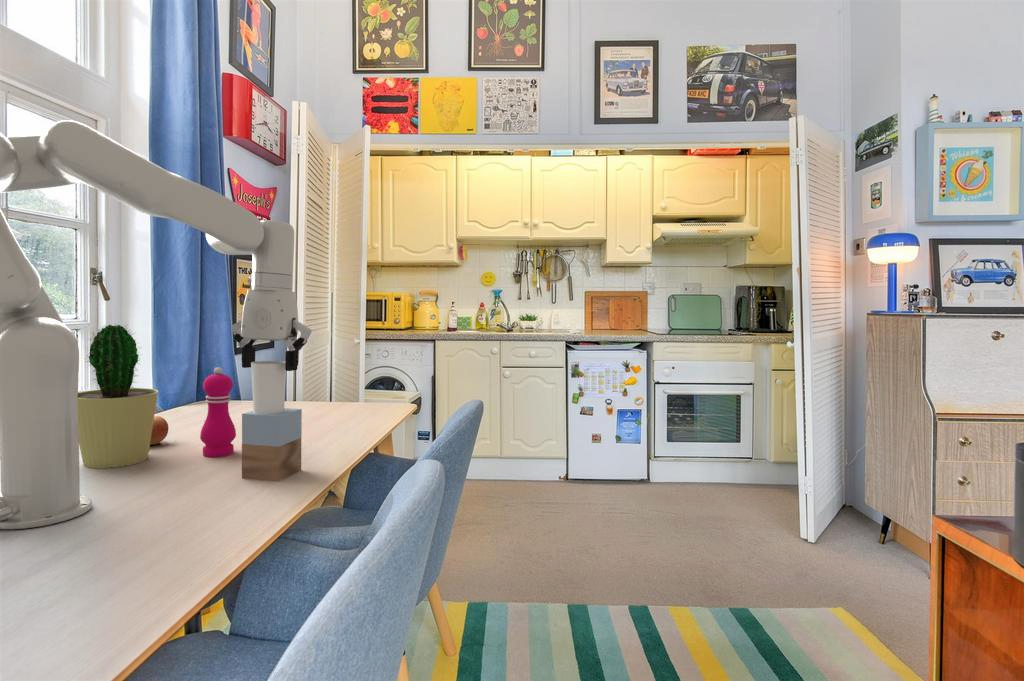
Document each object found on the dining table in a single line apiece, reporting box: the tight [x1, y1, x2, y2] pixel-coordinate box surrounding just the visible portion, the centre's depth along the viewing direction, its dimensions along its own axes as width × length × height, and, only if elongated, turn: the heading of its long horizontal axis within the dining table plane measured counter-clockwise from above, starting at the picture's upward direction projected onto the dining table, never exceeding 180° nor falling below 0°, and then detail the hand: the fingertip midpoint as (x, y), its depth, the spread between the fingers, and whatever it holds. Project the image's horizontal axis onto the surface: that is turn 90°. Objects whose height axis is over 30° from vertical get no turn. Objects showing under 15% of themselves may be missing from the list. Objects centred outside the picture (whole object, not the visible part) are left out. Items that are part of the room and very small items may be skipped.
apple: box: [150, 415, 169, 446], centre depth 132 cm, size 8×8×8 cm
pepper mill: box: [199, 366, 237, 458], centre depth 125 cm, size 7×7×20 cm
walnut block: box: [241, 437, 302, 483], centre depth 112 cm, size 8×8×7 cm
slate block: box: [241, 407, 303, 447], centre depth 111 cm, size 8×8×6 cm
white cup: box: [250, 360, 287, 414], centre depth 111 cm, size 7×7×10 cm
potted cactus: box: [78, 323, 159, 469], centre depth 117 cm, size 15×15×30 cm
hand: (269, 368), depth 110 cm, fingers open, 9 cm apart
